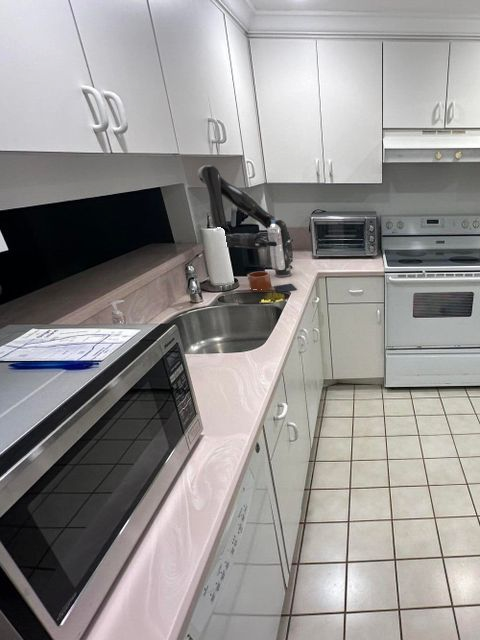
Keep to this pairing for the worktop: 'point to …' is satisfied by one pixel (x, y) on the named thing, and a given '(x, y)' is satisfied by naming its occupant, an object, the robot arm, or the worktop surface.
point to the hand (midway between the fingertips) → (279, 242)
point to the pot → (259, 281)
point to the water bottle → (276, 251)
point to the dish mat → (285, 288)
